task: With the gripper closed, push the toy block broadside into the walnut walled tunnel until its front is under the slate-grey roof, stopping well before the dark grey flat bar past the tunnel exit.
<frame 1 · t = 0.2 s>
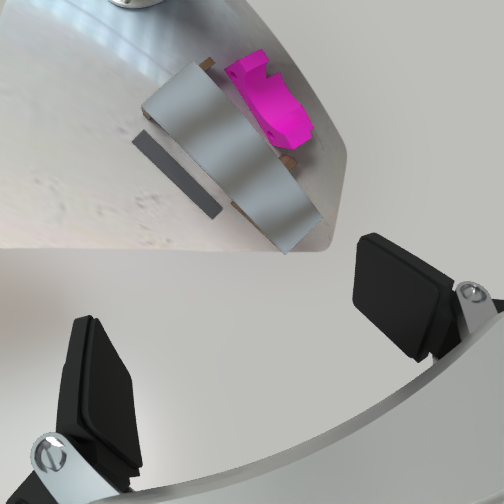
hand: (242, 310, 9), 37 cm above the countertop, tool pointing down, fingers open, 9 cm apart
toy block: (263, 98, 42), on the countertop
dark grey flat bar: (178, 175, 42), on the countertop
tunnel: (219, 136, 42), on the countertop
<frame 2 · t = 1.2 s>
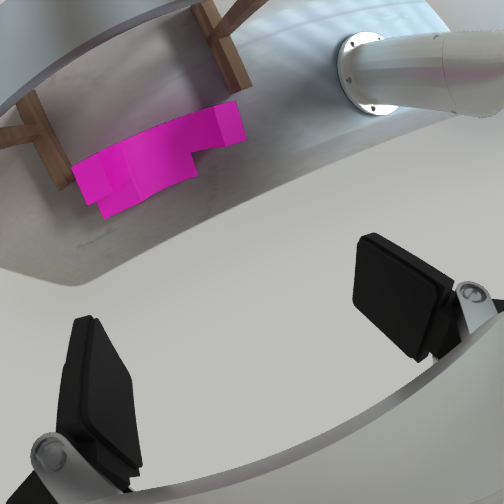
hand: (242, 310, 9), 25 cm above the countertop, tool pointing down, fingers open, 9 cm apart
toy block: (160, 154, 29), on the countertop
tunnel: (128, 84, 24), on the countertop
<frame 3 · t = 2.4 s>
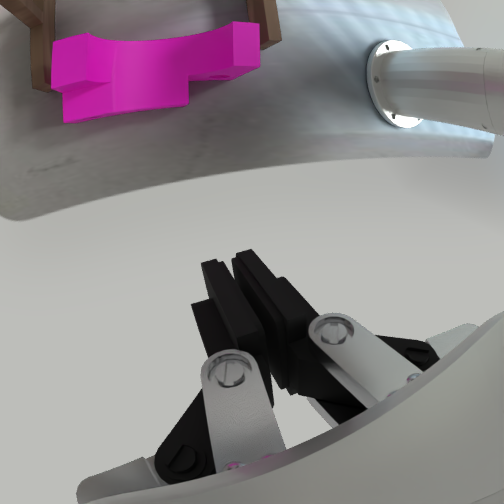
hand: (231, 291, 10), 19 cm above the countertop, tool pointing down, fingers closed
toy block: (152, 78, 22), on the countertop
tunnel: (150, 8, 18), on the countertop
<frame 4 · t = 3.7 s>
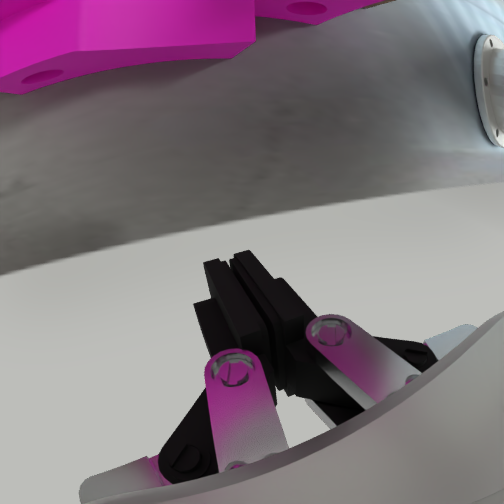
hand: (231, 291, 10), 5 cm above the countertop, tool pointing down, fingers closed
toy block: (170, 7, 9), on the countertop
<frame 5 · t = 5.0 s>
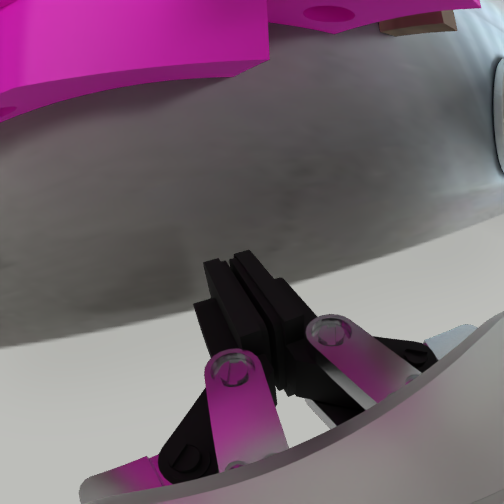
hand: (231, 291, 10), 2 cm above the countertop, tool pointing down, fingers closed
toy block: (154, 12, 7), on the countertop
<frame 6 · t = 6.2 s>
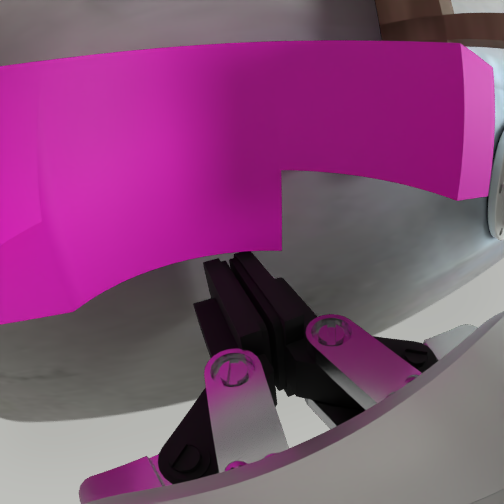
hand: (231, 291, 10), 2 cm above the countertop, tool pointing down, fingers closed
toy block: (166, 148, 10), on the countertop
tunnel: (183, 32, 8), on the countertop
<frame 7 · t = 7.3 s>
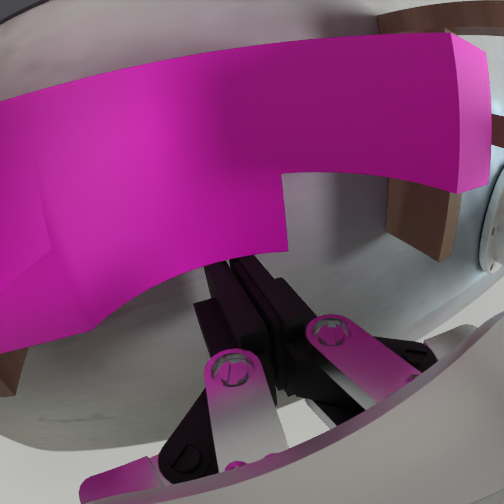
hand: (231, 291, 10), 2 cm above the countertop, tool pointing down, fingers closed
toy block: (165, 158, 10), on the countertop
tunnel: (195, 141, 10), on the countertop
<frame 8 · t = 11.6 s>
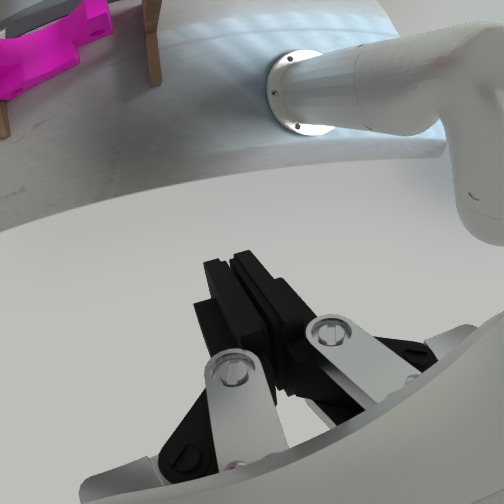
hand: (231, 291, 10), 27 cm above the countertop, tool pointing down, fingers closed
toy block: (56, 53, 21), on the countertop
dark grey flat bar: (67, 7, 19), on the countertop
tunnel: (69, 64, 23), on the countertop
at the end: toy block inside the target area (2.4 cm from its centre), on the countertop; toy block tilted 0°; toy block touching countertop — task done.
